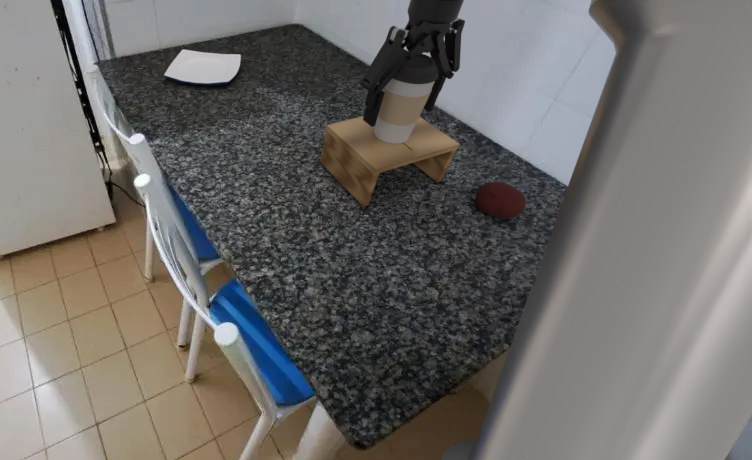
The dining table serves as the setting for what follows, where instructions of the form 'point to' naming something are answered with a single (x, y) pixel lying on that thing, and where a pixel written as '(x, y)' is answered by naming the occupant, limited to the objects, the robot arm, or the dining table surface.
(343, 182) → the board
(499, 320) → the dining table surface
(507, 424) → the robot arm
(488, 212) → the potato
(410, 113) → the coffee cup
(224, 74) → the plate
